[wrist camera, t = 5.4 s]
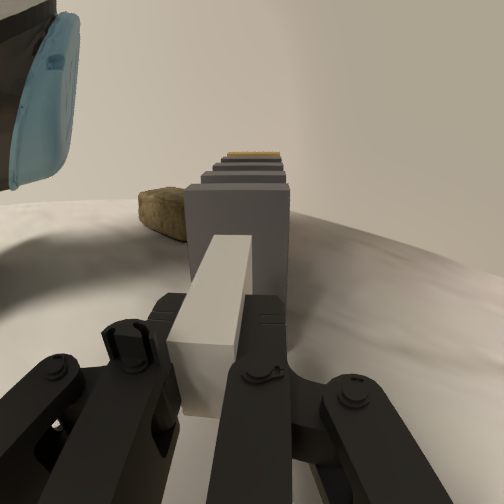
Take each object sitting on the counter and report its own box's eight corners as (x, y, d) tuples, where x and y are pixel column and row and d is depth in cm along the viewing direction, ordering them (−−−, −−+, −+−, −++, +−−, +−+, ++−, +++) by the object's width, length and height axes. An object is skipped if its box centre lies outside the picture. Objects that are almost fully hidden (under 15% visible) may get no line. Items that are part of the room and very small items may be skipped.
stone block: (185, 247, 35) (181, 203, 33) (137, 227, 42) (133, 191, 40) (224, 233, 39) (222, 193, 37) (171, 216, 46) (168, 183, 44)
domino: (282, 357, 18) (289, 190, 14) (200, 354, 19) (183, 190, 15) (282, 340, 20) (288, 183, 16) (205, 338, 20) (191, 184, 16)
